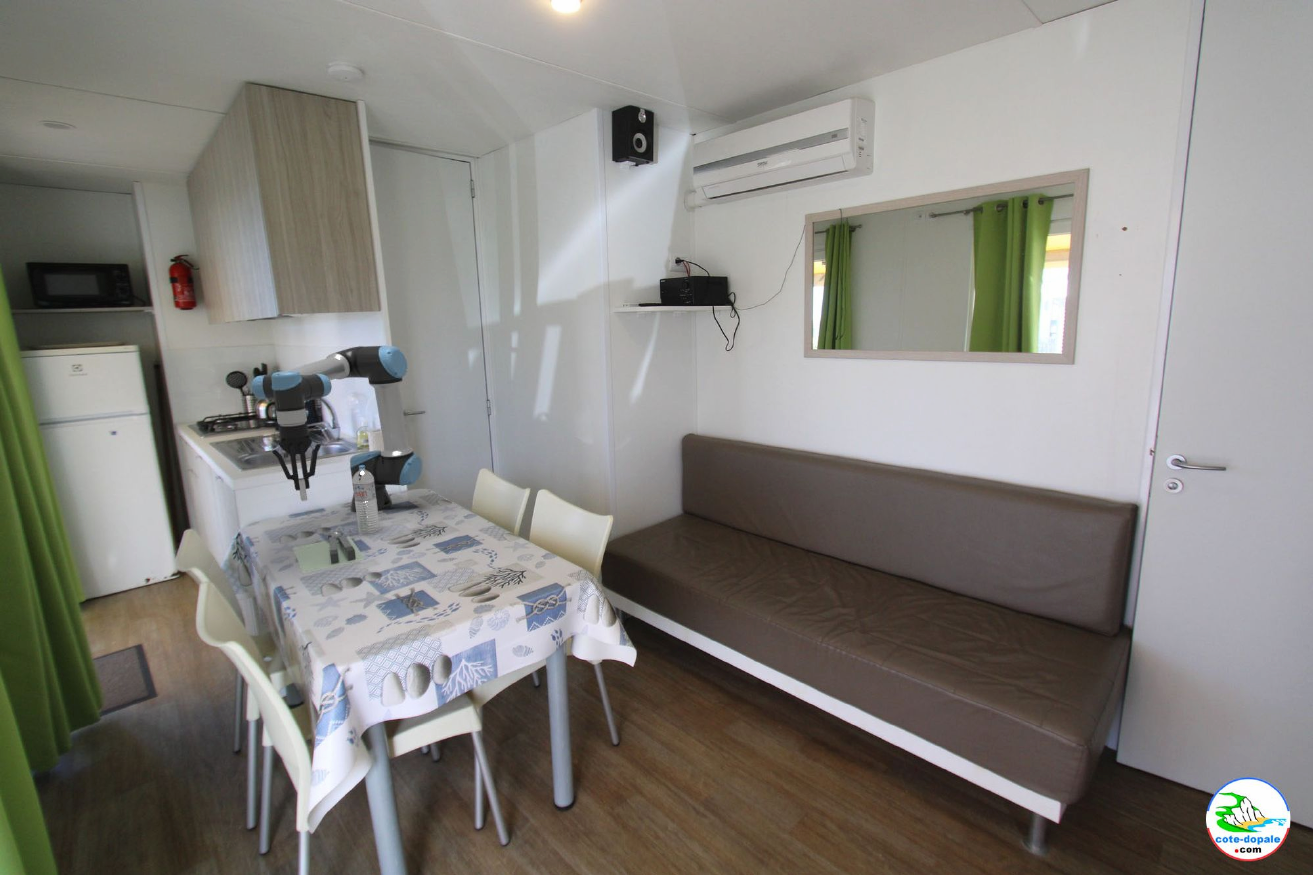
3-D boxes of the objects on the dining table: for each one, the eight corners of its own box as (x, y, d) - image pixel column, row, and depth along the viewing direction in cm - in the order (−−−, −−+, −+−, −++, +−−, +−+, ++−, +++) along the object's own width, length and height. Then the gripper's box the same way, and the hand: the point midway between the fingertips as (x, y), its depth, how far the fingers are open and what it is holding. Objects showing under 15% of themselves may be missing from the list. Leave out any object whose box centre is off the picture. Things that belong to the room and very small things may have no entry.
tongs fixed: (342, 537, 209) (341, 527, 208) (356, 559, 190) (355, 547, 189) (327, 540, 206) (326, 530, 205) (340, 562, 187) (338, 551, 186)
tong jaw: (337, 544, 202) (336, 536, 201) (339, 562, 187) (337, 553, 186) (330, 545, 201) (329, 537, 200) (331, 563, 186) (330, 554, 185)
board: (349, 539, 210) (349, 536, 210) (365, 562, 190) (365, 559, 189) (293, 551, 200) (292, 547, 200) (303, 577, 180) (302, 573, 180)
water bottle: (354, 536, 213) (346, 467, 208) (371, 530, 219) (363, 462, 214) (367, 539, 210) (359, 469, 205) (384, 533, 216) (377, 464, 211)
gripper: (315, 419, 188) (325, 492, 193) (266, 424, 181) (278, 501, 186) (319, 422, 182) (329, 498, 187) (268, 428, 175) (280, 507, 180)
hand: (304, 499), depth 186 cm, fingers closed
